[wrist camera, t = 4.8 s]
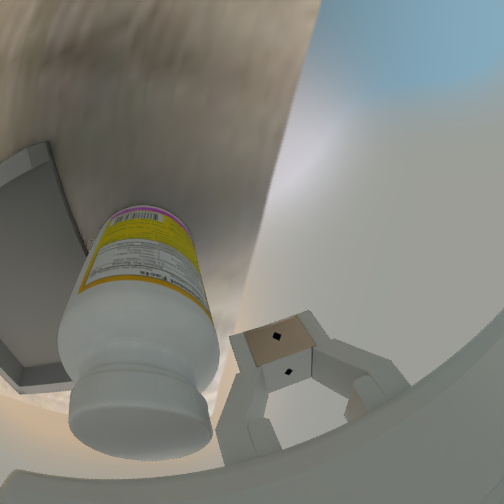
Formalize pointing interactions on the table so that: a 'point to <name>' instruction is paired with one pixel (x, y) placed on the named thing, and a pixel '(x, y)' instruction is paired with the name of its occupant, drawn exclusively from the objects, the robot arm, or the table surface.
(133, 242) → the supplement bottle
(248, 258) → the table surface
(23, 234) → the tray
